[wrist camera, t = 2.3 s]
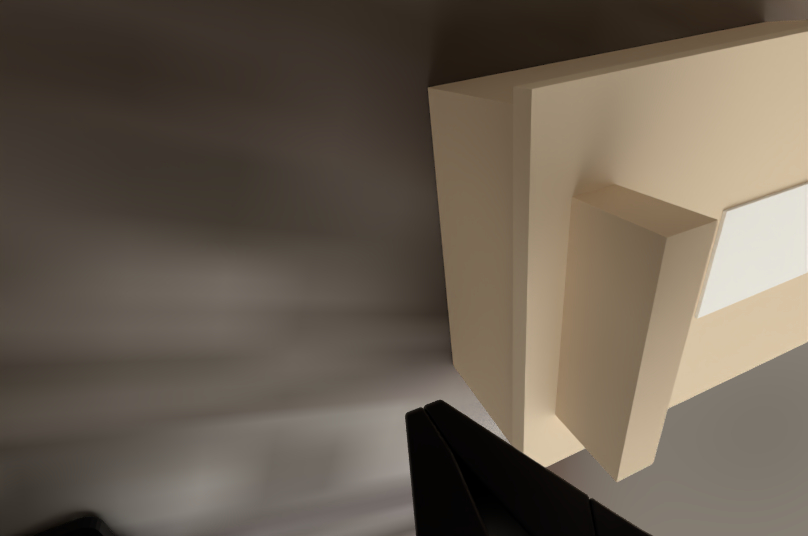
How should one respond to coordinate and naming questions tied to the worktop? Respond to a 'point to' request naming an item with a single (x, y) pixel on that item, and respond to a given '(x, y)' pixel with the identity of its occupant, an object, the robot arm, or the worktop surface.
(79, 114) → the worktop surface
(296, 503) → the worktop surface
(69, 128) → the worktop surface
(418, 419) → the robot arm
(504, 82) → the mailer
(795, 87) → the lid
